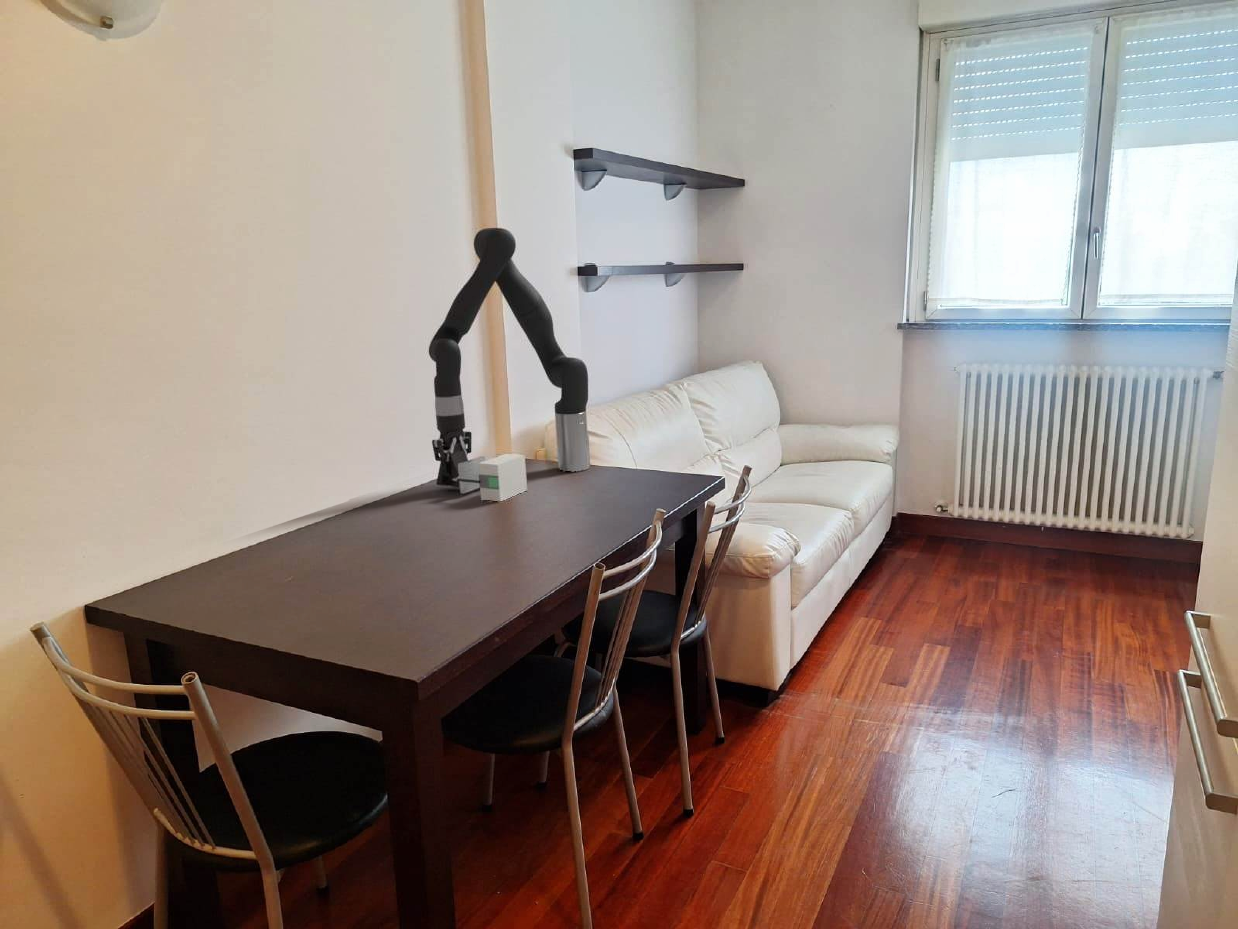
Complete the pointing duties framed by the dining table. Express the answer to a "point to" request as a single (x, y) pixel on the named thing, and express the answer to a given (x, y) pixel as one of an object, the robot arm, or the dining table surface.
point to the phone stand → (452, 466)
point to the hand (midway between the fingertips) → (455, 472)
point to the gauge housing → (502, 477)
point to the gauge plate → (469, 474)
